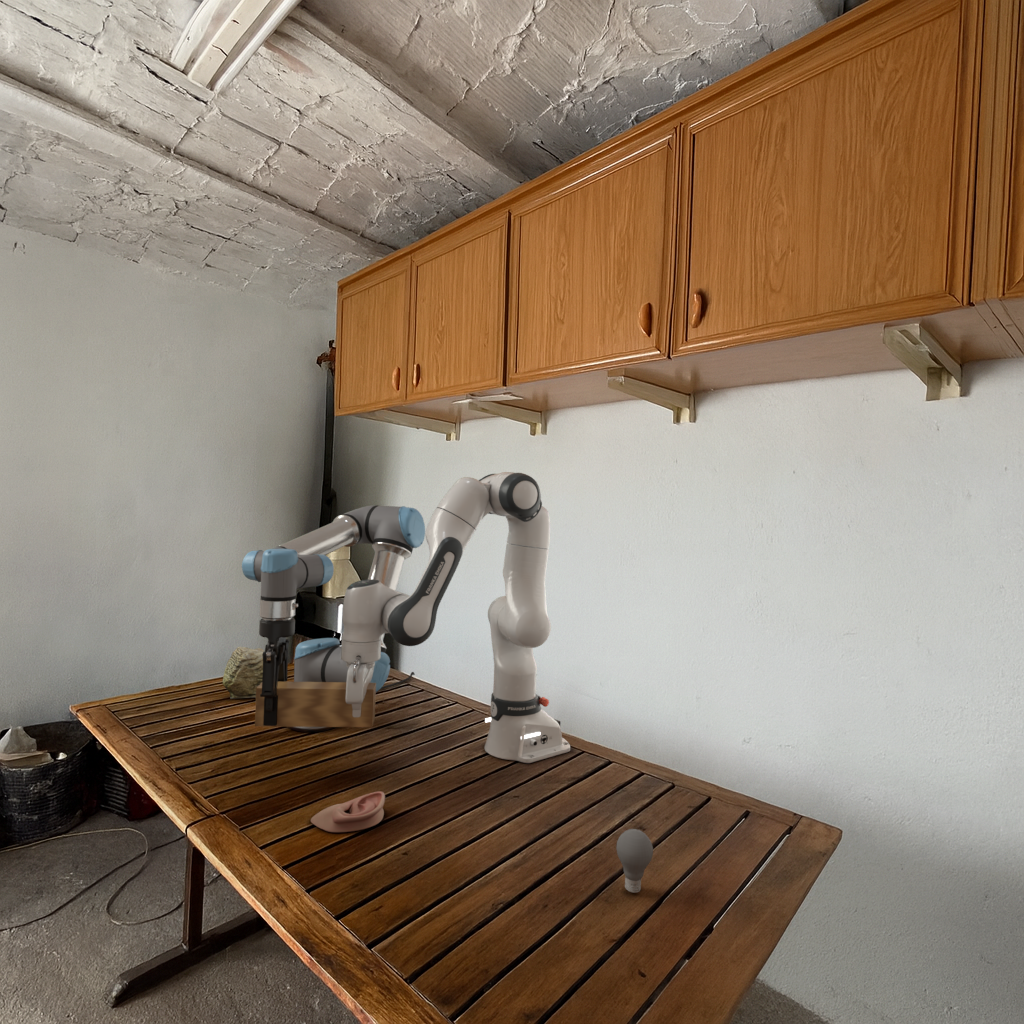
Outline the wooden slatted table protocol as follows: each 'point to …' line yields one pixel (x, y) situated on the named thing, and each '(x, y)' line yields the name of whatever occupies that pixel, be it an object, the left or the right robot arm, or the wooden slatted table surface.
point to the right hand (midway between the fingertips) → (358, 711)
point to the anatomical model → (352, 814)
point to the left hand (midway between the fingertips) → (273, 720)
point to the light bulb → (634, 857)
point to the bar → (317, 705)
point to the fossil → (244, 672)
